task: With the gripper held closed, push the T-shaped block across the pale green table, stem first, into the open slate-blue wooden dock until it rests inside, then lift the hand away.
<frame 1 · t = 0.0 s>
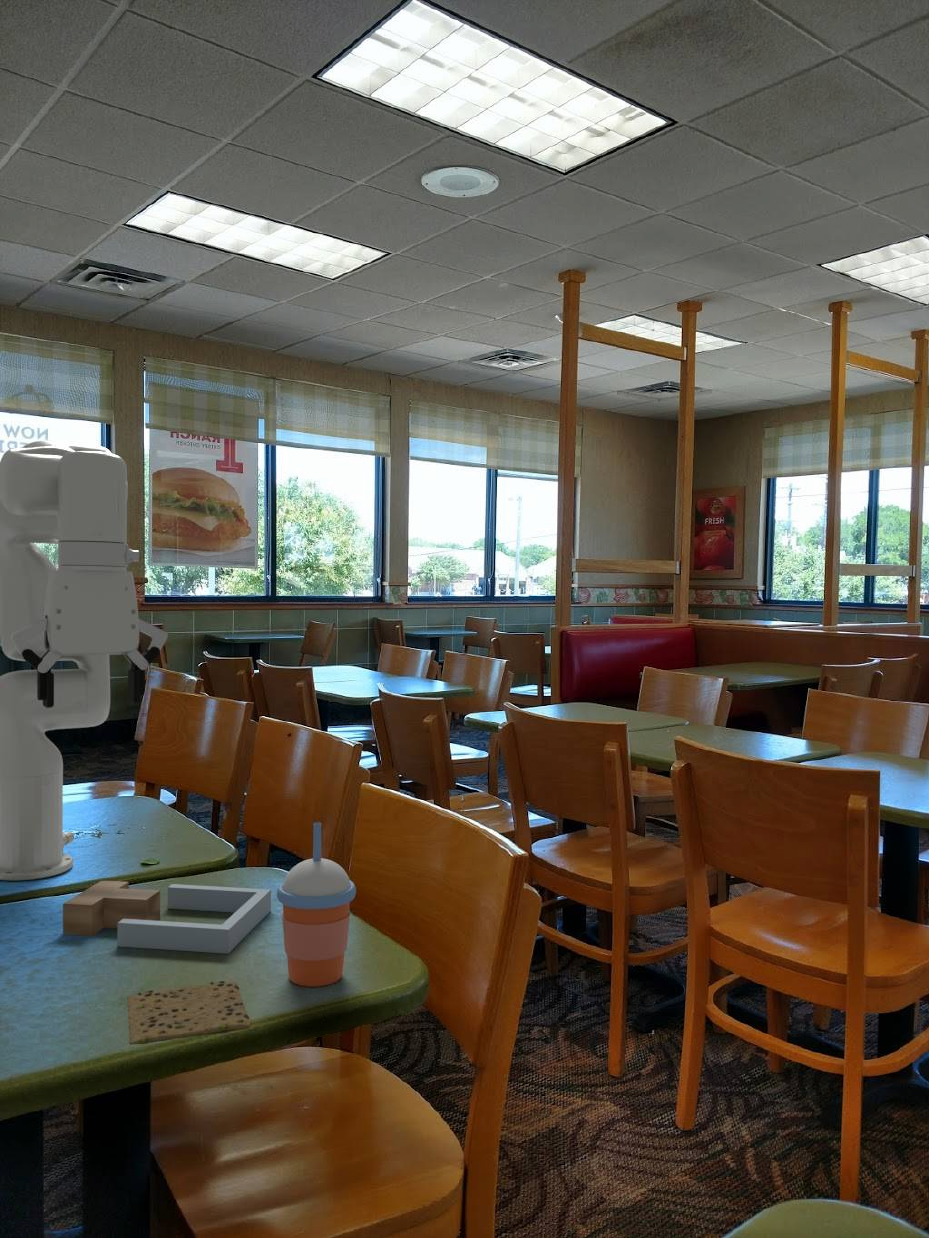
hand: (92, 704, 112), 31 cm above the table, fingers open, 9 cm apart
cookie: (186, 1016, 102), on the table
cup with straw: (315, 978, 111), on the table
t block: (97, 921, 129), on the table
dock: (196, 927, 127), on the table
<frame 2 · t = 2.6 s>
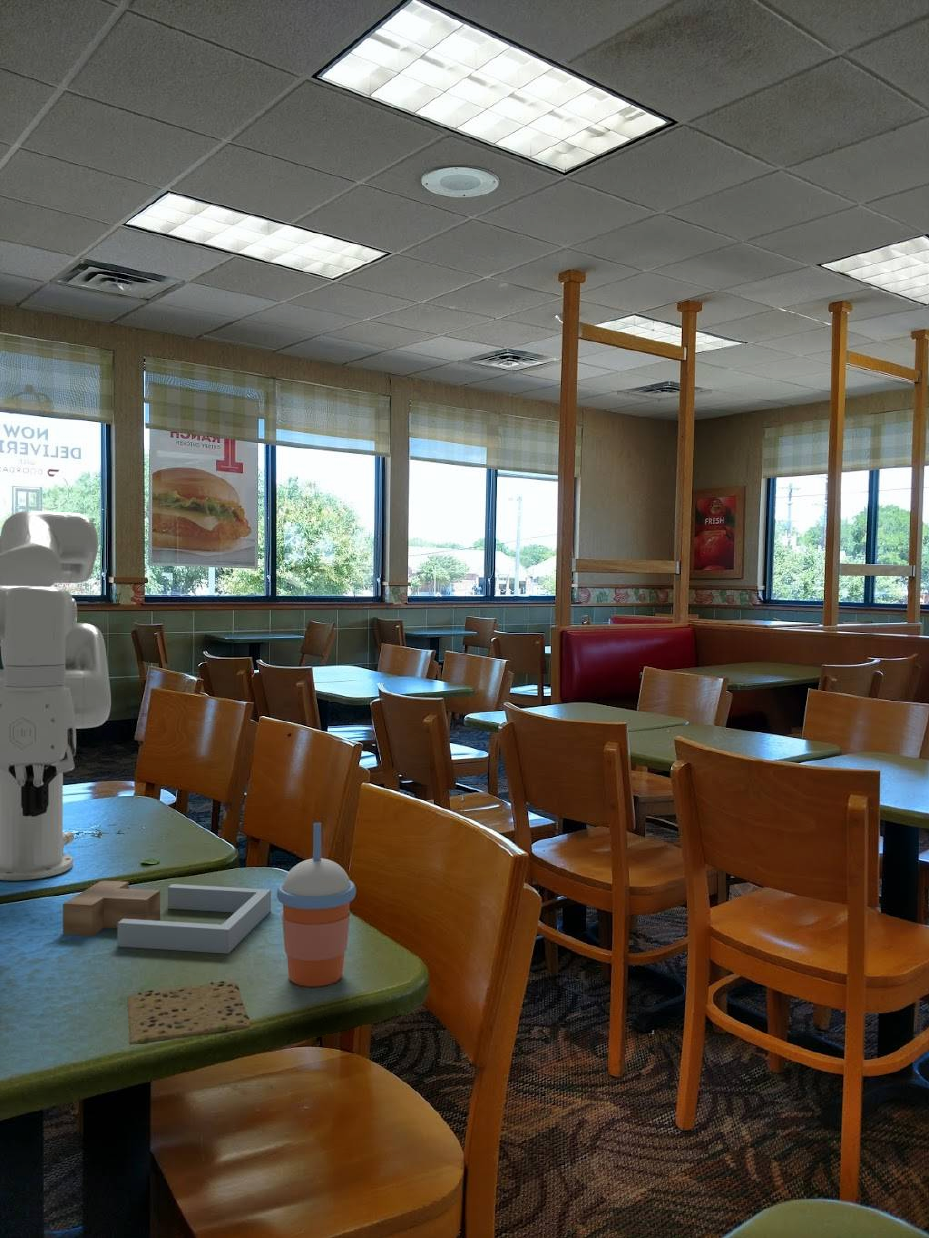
hand: (34, 814, 129), 14 cm above the table, fingers closed
nothing on the table moved.
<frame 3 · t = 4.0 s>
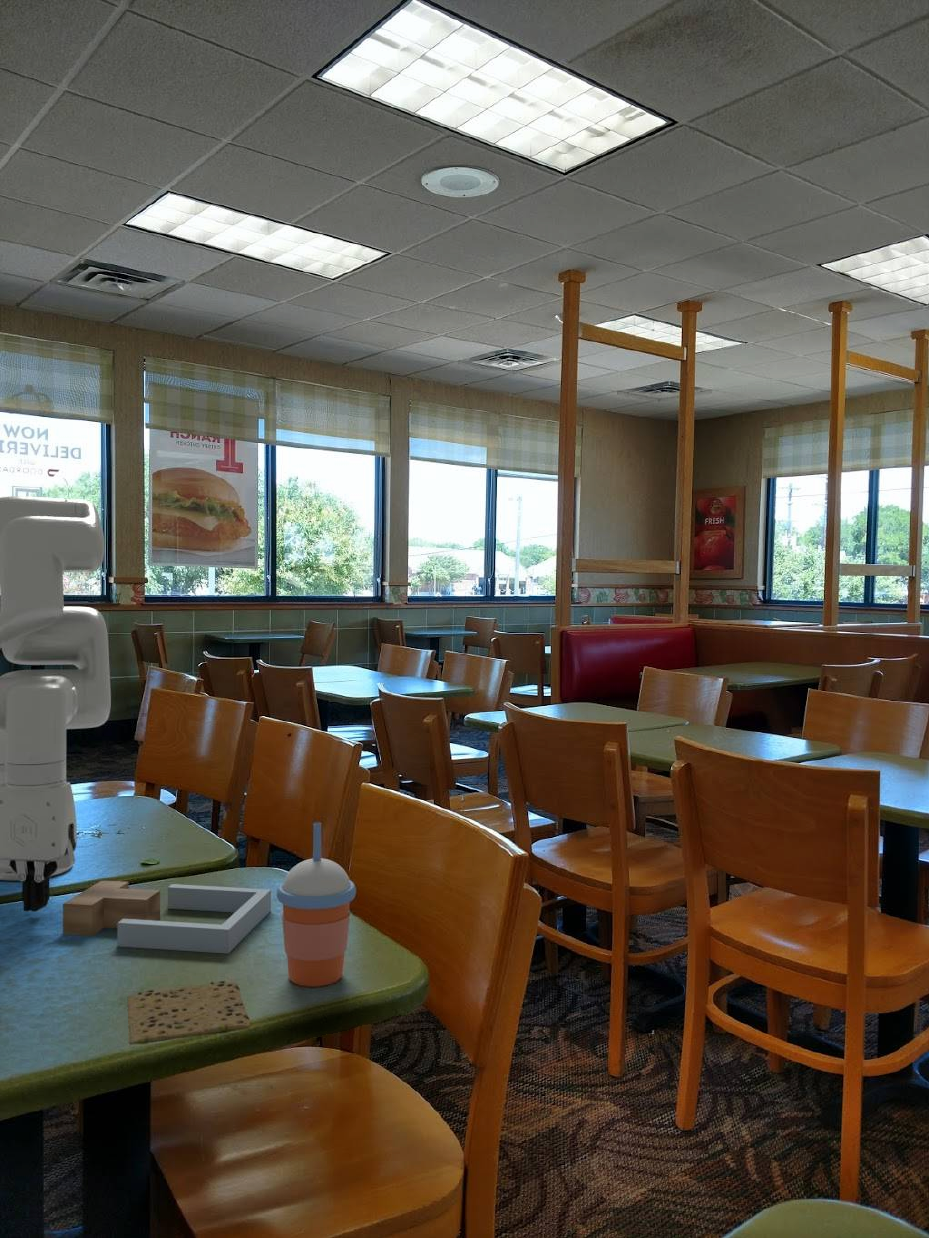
hand: (35, 907, 130), 1 cm above the table, fingers closed
nothing on the table moved.
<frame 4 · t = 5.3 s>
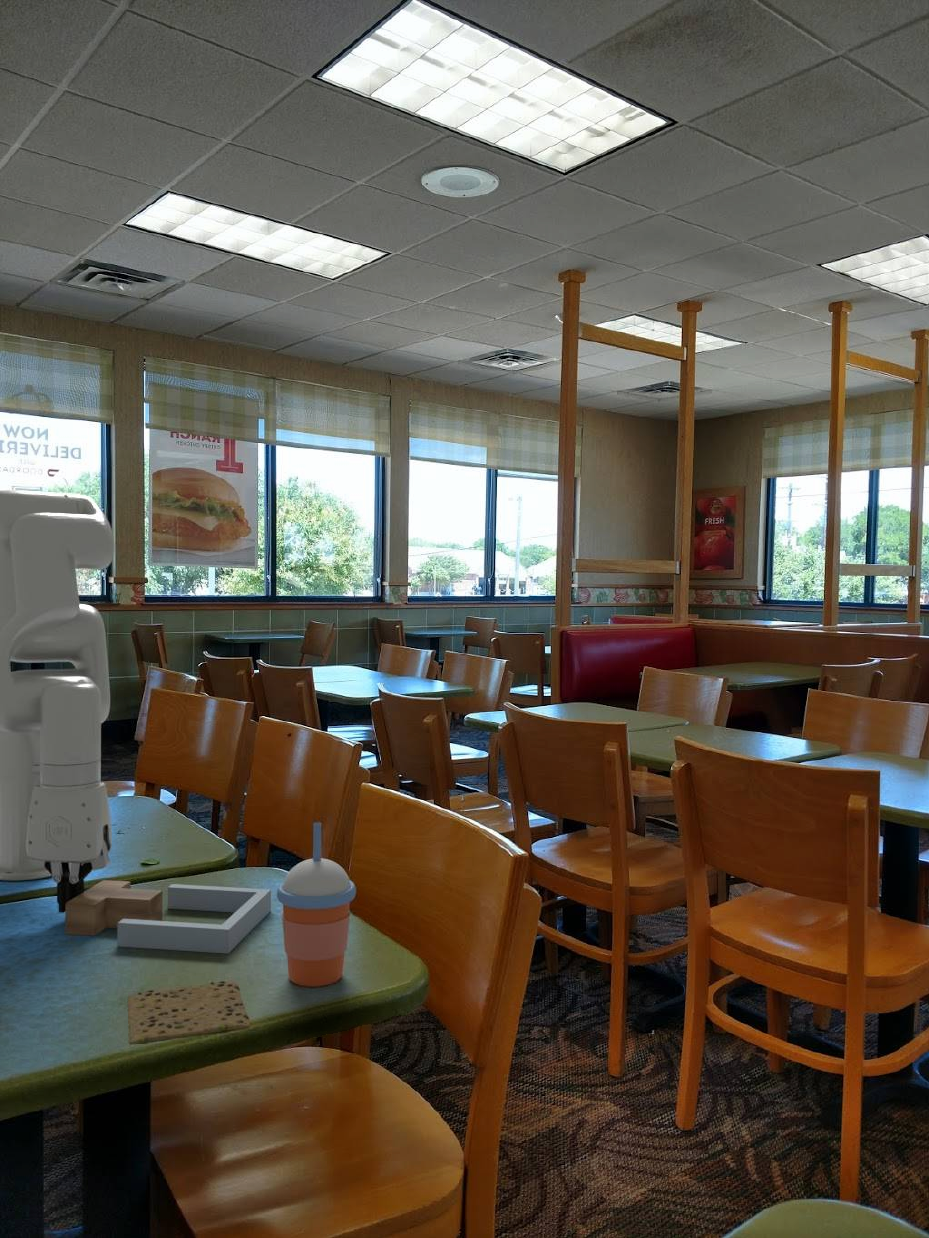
hand: (70, 909, 129), 1 cm above the table, fingers closed
t block: (99, 921, 129), on the table, touching gripper
everything else where it was.
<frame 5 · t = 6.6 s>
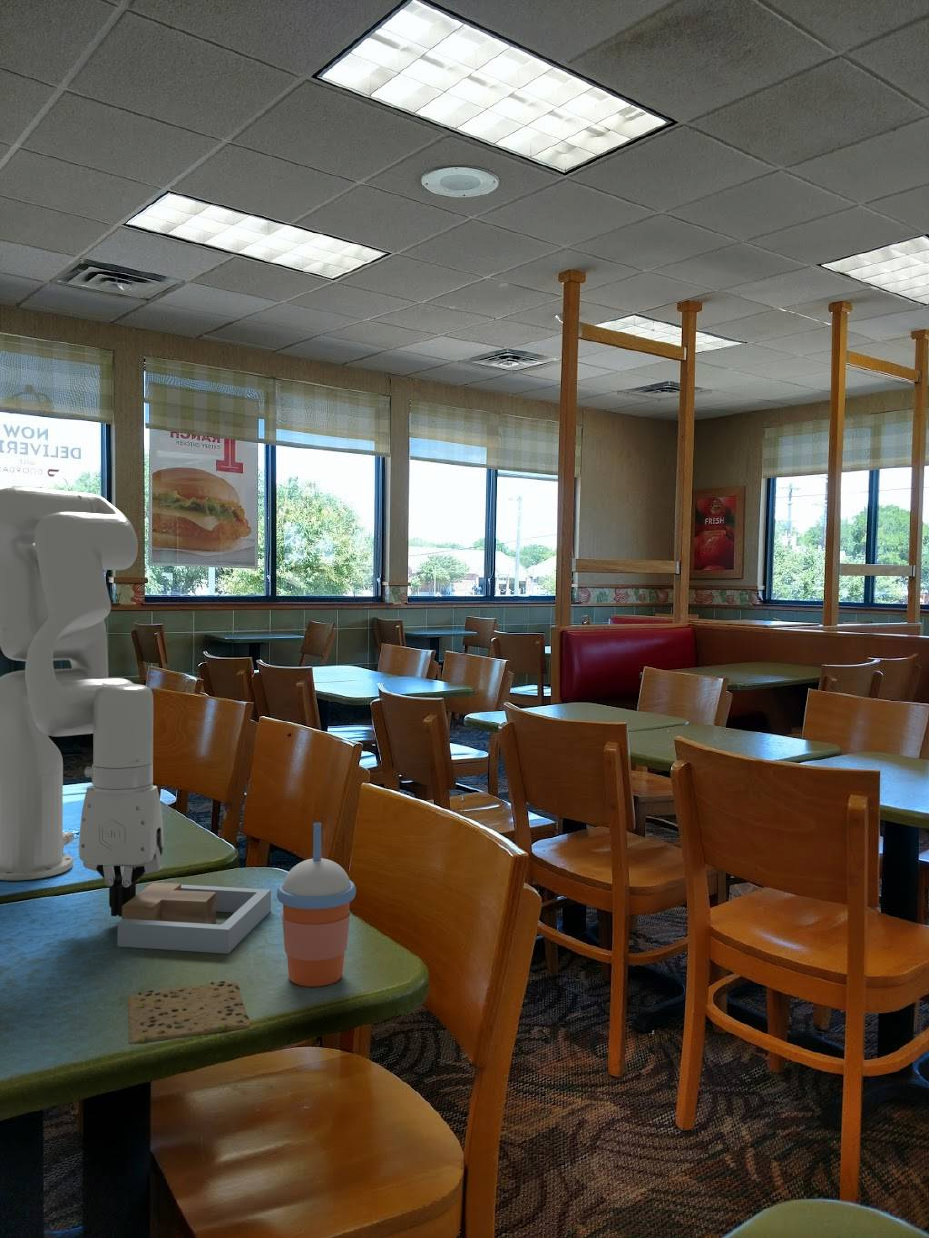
hand: (122, 912, 128), 1 cm above the table, fingers closed
t block: (152, 923, 128), on the table, touching gripper
everything else where it was.
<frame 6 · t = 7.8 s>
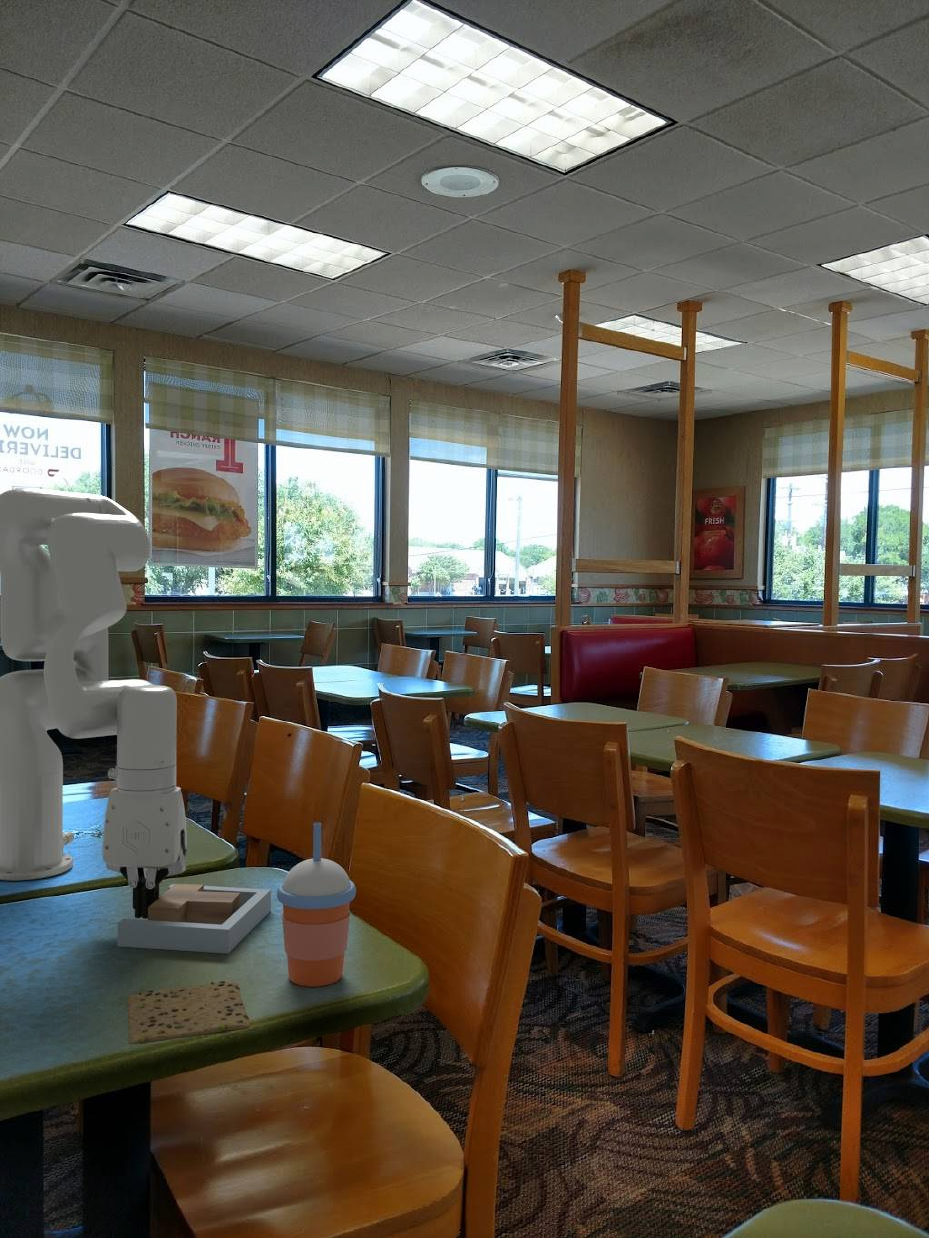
hand: (145, 914, 128), 1 cm above the table, fingers closed
t block: (176, 925, 128), on the table, touching gripper
everything else where it was.
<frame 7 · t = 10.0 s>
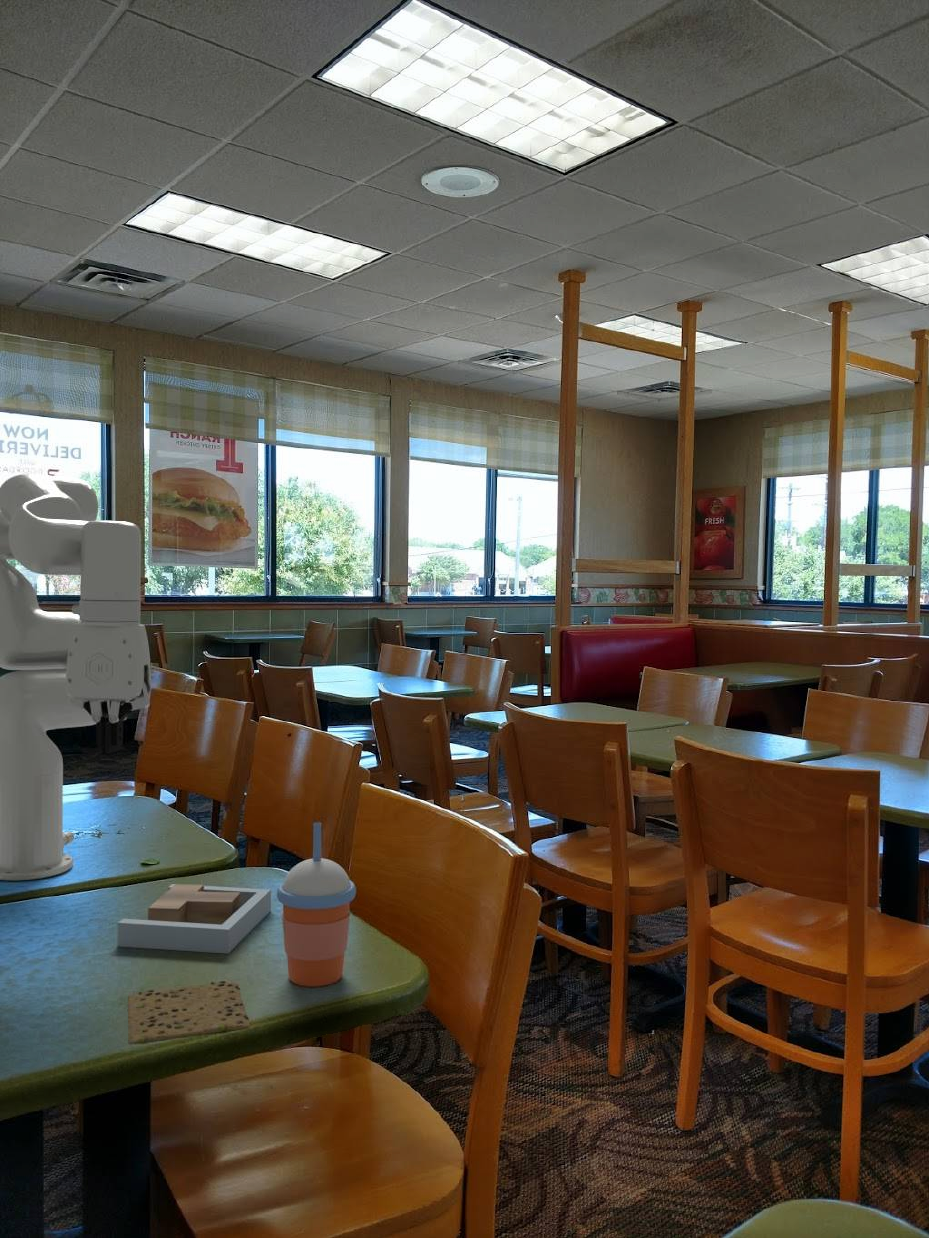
hand: (109, 750, 128), 23 cm above the table, fingers closed
t block: (177, 925, 128), on the table
everything else where it was.
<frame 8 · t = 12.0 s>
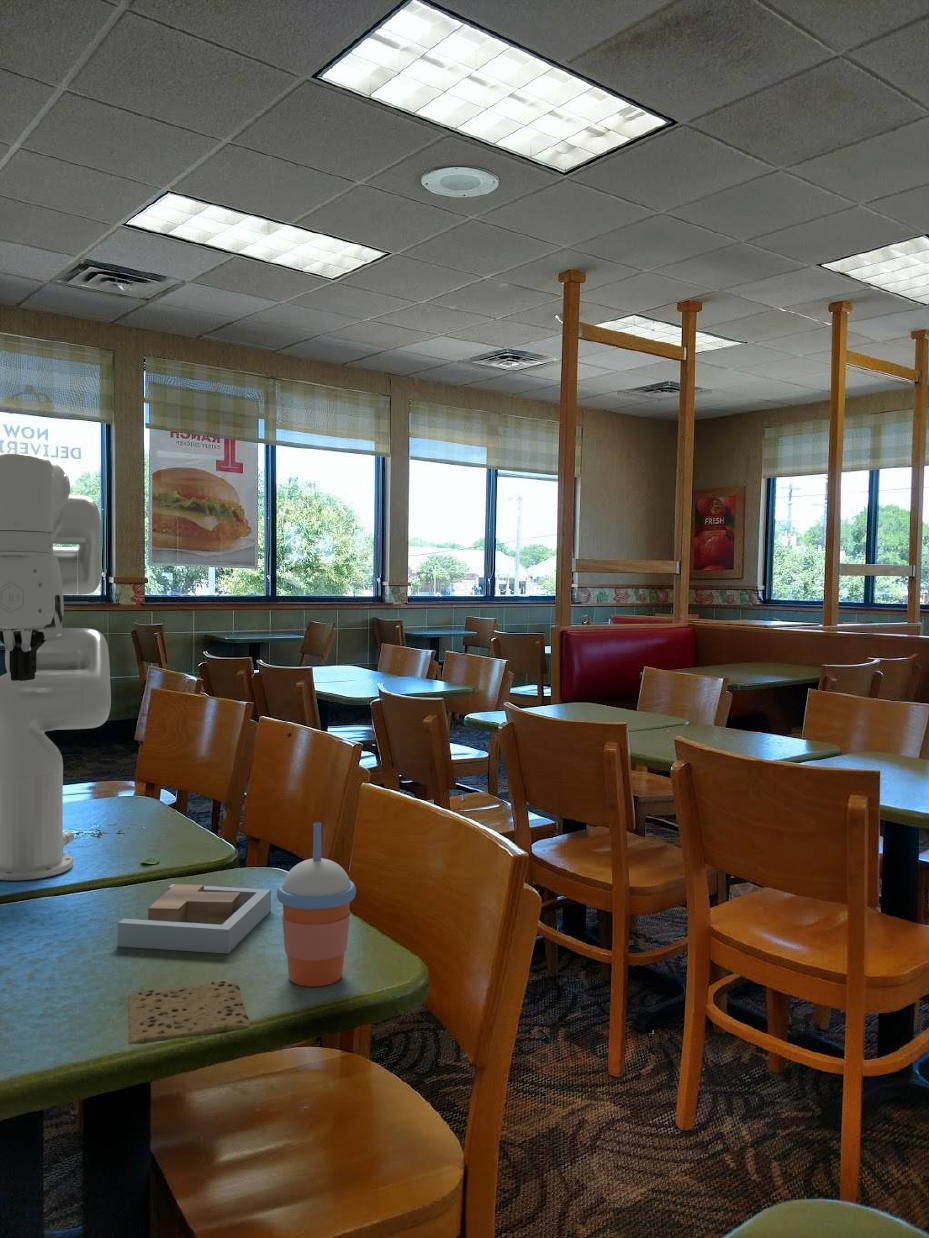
hand: (23, 679, 131), 32 cm above the table, fingers closed
nothing on the table moved.
at the end: t block inside the target area on the dock (0.5 cm from its centre), point 0.0 cm above the dock's base; t block tilted 1° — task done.
